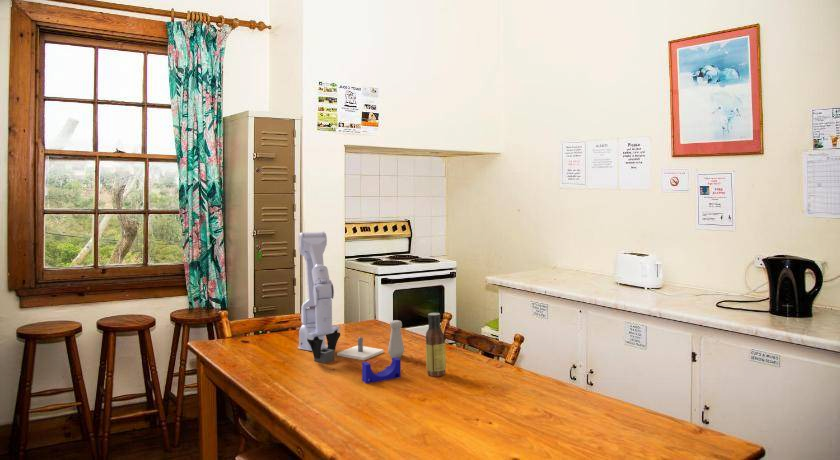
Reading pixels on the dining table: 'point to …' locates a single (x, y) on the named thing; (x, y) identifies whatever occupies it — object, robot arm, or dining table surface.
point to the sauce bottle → (435, 347)
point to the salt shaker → (396, 340)
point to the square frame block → (326, 356)
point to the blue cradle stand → (386, 374)
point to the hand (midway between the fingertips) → (324, 355)
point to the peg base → (360, 351)
